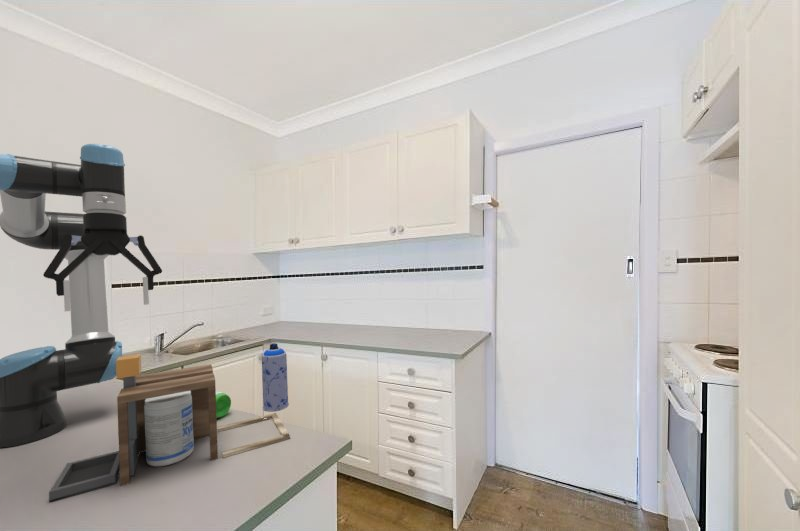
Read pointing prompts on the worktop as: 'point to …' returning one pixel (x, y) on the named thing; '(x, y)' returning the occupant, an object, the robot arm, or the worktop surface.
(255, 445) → the frame
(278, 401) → the aerosol can
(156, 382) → the walnut tunnel
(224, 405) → the speaker
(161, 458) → the supplement tub
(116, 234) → the robot arm
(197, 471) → the worktop surface
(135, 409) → the slider
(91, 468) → the tray
